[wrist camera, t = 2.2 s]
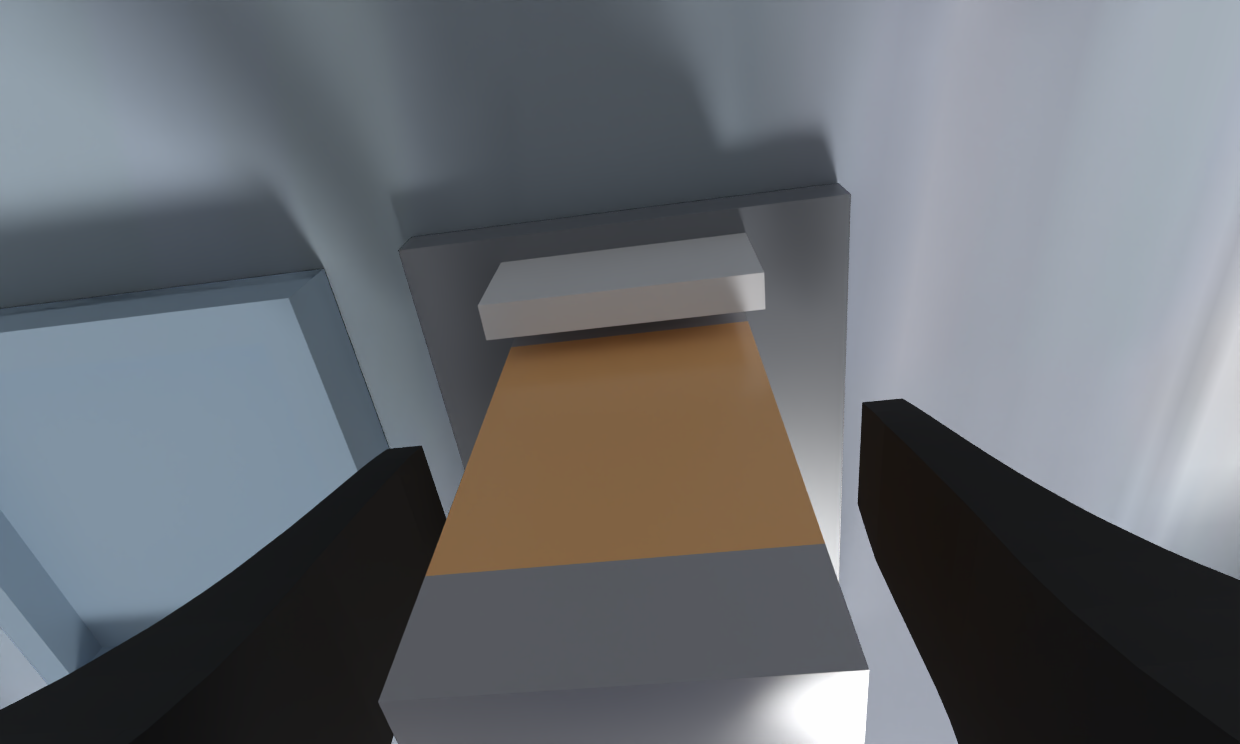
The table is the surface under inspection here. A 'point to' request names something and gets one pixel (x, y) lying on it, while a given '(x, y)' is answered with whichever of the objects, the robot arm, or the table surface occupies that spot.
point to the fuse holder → (656, 302)
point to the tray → (163, 449)
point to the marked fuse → (631, 559)
